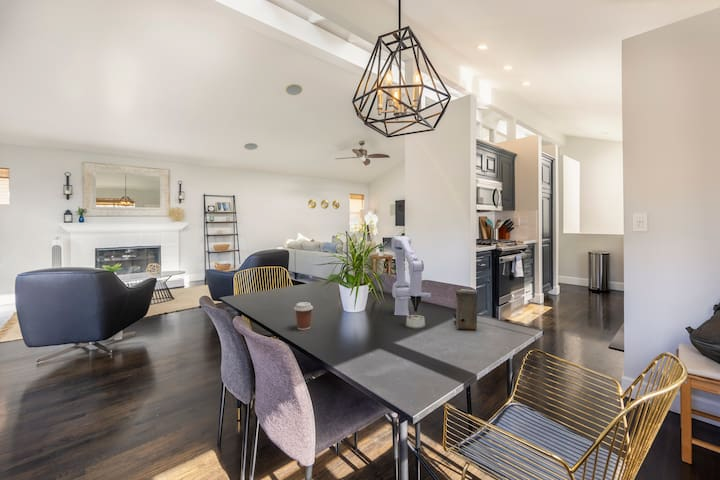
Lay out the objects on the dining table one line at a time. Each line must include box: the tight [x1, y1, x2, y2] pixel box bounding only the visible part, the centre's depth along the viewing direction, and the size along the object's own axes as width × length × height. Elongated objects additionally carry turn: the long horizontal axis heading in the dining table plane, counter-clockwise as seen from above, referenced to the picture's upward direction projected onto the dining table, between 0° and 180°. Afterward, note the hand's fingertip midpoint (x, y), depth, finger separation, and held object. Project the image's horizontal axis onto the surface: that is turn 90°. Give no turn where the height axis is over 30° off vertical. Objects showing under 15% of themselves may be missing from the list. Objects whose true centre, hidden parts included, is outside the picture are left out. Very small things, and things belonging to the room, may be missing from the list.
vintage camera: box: [452, 288, 478, 331], centre depth 166 cm, size 10×16×20 cm, turn 174°
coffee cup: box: [293, 301, 314, 331], centre depth 163 cm, size 9×9×12 cm
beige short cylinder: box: [411, 314, 422, 319], centre depth 166 cm, size 5×5×4 cm
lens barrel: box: [405, 314, 427, 330], centre depth 166 cm, size 10×10×4 cm
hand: (415, 311), depth 166 cm, fingers closed
